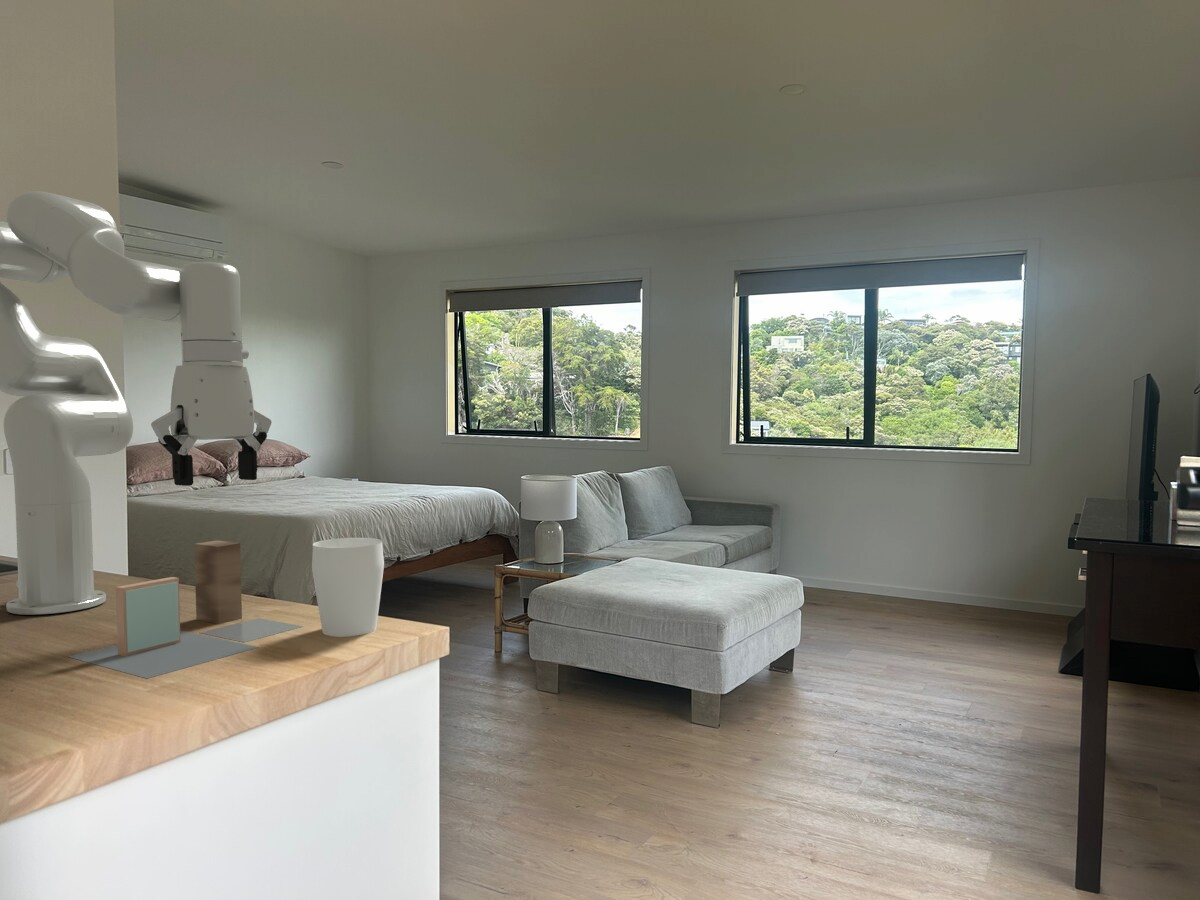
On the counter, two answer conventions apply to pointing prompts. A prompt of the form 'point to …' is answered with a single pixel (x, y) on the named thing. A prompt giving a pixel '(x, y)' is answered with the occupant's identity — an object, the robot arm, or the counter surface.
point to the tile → (147, 615)
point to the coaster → (251, 630)
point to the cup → (348, 584)
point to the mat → (165, 655)
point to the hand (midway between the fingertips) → (216, 482)
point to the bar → (218, 581)
